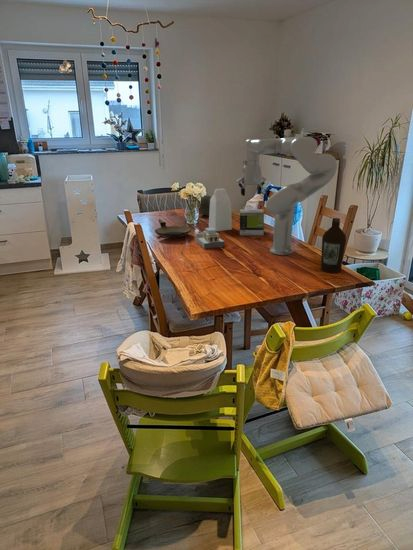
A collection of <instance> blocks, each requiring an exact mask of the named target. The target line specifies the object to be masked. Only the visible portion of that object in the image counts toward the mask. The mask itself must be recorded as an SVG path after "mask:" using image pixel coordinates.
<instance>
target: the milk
mask: <svg viewBox="0 0 413 550" xmlns="http://www.w3.org/2000/svg"><path fill="white" fill-rule="evenodd" d="M232 219H233V218H232V201H231V199H230V196H229V195H228V193H227V190H226V188H216V189H214V192H213V195H212V196H211V199H210V210H209V215H208V228H211V227H213V228H214V229H215V230H216V232H221V231H222V232H223V231H231V230H233V221H232Z"/></svg>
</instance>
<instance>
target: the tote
mask: <svg viewBox="0 0 413 550" xmlns="http://www.w3.org/2000/svg"><path fill="white" fill-rule="evenodd" d="M204 231H205V232H206V233H207V234H216V233H217V231H216V230H215V229H214V228H213V227H211V228H209V227H205V228H204Z"/></svg>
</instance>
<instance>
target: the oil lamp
mask: <svg viewBox="0 0 413 550" xmlns="http://www.w3.org/2000/svg"><path fill="white" fill-rule="evenodd" d="M158 222H159V225H160V227H158V228H156V229H155V230H154V232H155V234H156V235H158V236H159V237H163V238H167V239H175V238H180V237H183V236H185V235H188V234H189V233H190V232H192V228H191V227H189V226H182V225H181V226H175V225H173V226H171V225H170V226H169V225H168V226H167V222H166V221H163V220H162V218H159V219H158Z"/></svg>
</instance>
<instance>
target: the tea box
mask: <svg viewBox="0 0 413 550" xmlns="http://www.w3.org/2000/svg"><path fill="white" fill-rule="evenodd" d="M264 225H265V210H264V209H262V208H257V209H256V208H255V209H251V208H248V209H247V208H245V209H244V208H242V209H239V235H240V236H264V231H265V229H264V228H265V227H264Z"/></svg>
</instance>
